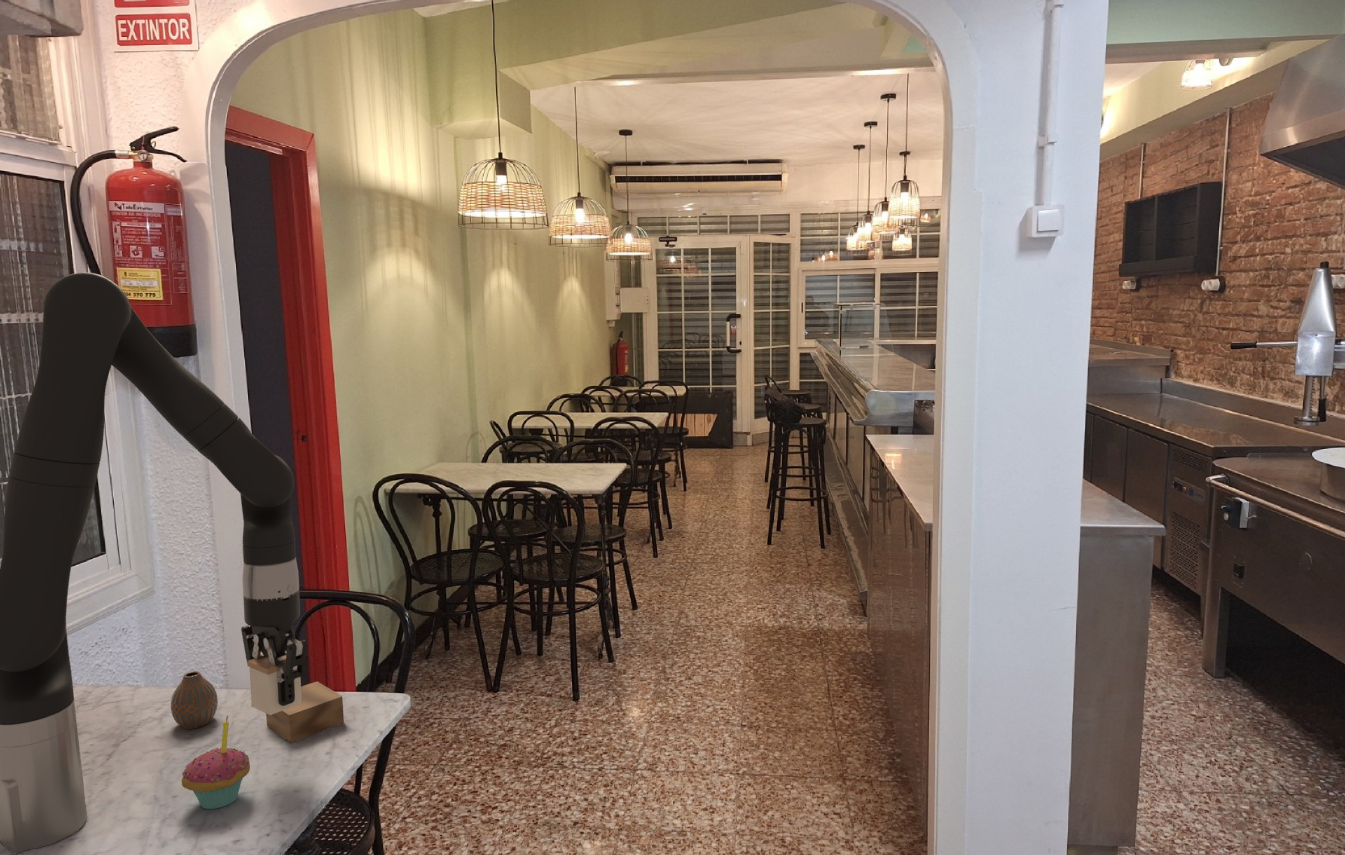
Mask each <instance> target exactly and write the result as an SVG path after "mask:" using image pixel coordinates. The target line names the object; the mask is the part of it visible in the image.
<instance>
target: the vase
mask: <svg viewBox="0 0 1345 855" xmlns="http://www.w3.org/2000/svg"><path fill="white" fill-rule="evenodd" d="M218 705H219V704H218V694H217V690H216V689H215V687H214V686H213V684H212V683H211V682H210V681H209V680H208V679H206V678H205V677H204V676H203V675H202V674H201V672H200V671H198V670H195V671H194V670H193V671H190V672H186V673H185V674H184V675H183V676H182V680H181V681H180V682H179V684H178V685H177V687H175V690H174V691H173V694H172V696H171V700H170V710H171V716H172V717H173V719H174V721H175V723H176V724H177V725H179V726H181V727H182V728H184V729H187V730H189V729H197V728H201V727H204V726H206V725H207V724H209V722H211V721H212V719H213V718H214V716H215V715H216V712H217V710H218Z"/></svg>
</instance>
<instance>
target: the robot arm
mask: <svg viewBox="0 0 1345 855" xmlns="http://www.w3.org/2000/svg"><path fill="white" fill-rule="evenodd" d="M42 319H43V320H42V332H41V333H42V334H41V335H42V336H41V346H40V355H39V364H38V365H39V366H38V370H37V375H36V380H35V383H34V386H33V389H32V392H31V394H30V397H29V400H28V403H27V406H26V409H25V411H24V414H23V419H22V421H21V425H20V429H19V432H18V436H17V440H16V444H15V447H14V451H13V454H12V458H11V459H12V460H11V465H10V469H9V475H8V479H7V487H6V494H5V502H4V504H5V505H4V516H3V544H2V545H3V546H2V555H1V561H0V843H1V844H2V845H3V846H4V847H5V848H6V849H7V850H8V851H10V852H11V853H12V854H14V855H16V854H19V853H20V852H23V851H26V850H32V849H39V848H41V847H45V846H49V845H52V844H54V843H57V842H60V841H62V840H64V839H65V838H67V837H69V836H71V835H73V834H75V832H77V831H79V830H80V829H81V828H82V827H83V826H84V825H85V823H86V822H87V820H88V811H87V800H86V795H85V794H86V792H85V786H84V785H85V784H84V776H83V765H82V759H81V748H80V739H79V731H78V721H77V714H76V713H77V710H76V704H75V703H76V702H75V695H74V682H73V676H72V667H71V666H72V665H71V660H70V653H69V652H70V651H69V644H68V643H69V642H68V633H67V607H68V594H69V586H70V578H71V577H70V576H71V570H72V567H73V566H72V565H73V561H74V556H75V554H76V551H77V548H78V544H79V541H80V539H81V536H82V534H83V530H84V527H85V523H86V520H87V518H88V513H89V511H90V507H91V504H92V499H93V495H94V491H95V488H96V483H97V478H98V473H99V469H100V464H101V459H102V453H103V446H104V445H103V444H104V434H105V414H106V413H105V412H106V411H105V410H106V409H105V407H106V406H105V403H106V402H105V400H106V388H107V382H108V378H109V375H110V372H111V368H112V366H113V367H114V369H116V370H117V371H118V372H120V374H121V375H123V376H124V377H125V378H126V379H127V380H128V381H129V382H131V384H132V385H133V386H134V387H135V388H136V389H137V390H138V391H139V392H140V393H141V394H142V395H143V396H144V397H145V398H146V399H147V401H148V402H149V403H150V404H151V405H152V406H153V407H154V408H155V409H156V411H157V412H158V413H159V414H160V415H161V416H162V417H163V419H165V421H166V422H167V423H168V424H169V425H170V426H171V427H172V428H173V429H174V430H175V431H176V432H177V433H178V434H179V435H181V436H182V437H183V438H184V439H185V441H187V442H188V443H189V444H190V446H192V447H193V448H194V449H195V450H197V452H198V453H200V454H201V455H202V456H203V457H205V458H206V459H207V460H209V461H210V462H211V463H212V464H213V465H214V466H215V467H216V468H217V469H218V470H219V473H221V474H222V475H223V476H224V478H226V480H227V481H228V482H229V483H230V485H232V486H233V488H235V489H236V491H238V492H239V493H240V501H241V502H240V503H241V511H242V513H241V514H242V518H243V519H242V520H243V529H242V530H243V531H242V557H243V558H242V559H243V566H242V568H243V569H242V595H243V597H242V598H243V614H244V615H243V616H244V617H243V618H244V619H243V621H244V623H245V624H246V625H244V626H242V627H241V628H240V630H241V636H242V641H243V642H242V643H243V648H244V653H245V654H244V655H245V659H246V662H247V661H249V660H252V659H256V660H258V659H261V658H265V657H268V656H269V660H270V664H271V666H272V667H276V668H277V679H278V681H279V682H278V701H279V705H281V706H285V705H288V704H290V703H293V702H294V700H295V691H294V690H295V689H294V680H295V679H296V678H299V677H301V678H302V677H304V675H305V670H306V669H305V668H306V661H307V660H306V658H307V651H308V642H307V640H305V639H302V640H298V639H296V635H295V631H294V628H293V624H295V623H294V622H295V621H296V620H298V619H299V617H300V615H301V603H300V582H299V581H300V578H299V577H300V576H299V569H298V568H299V567H298V563H297V556H296V555H297V554H296V552H297V551H296V532H295V527H294V524H293V521H292V504H291V503H292V502H291V501H292V500H291V498H292V494H293V491H294V488H295V487H294V486H295V478H294V474H293V472H292V470H291V468H290V466H289V465H288V463H287V462H286V461H285V460H284V458H281V457H280V456H278V455H277V454H274V453H273V452H272V451H271V450H270V449H269V448H268V447H267V446H265V444H263V443H262V442H261V440H259V439H258V438H256V437H255V435H254V434H253V433H252V432H251V430H250V428H249V427H248V426H247V425H246V423H245V422H244V421H243V420H242V419H241V418H240V417H239V416H238V415H237V414H236V412H234V410H232V409H231V407H229V406H228V405H227V404H226V403H225V402H224V401H223V399H221V398H220V397H219V396H218V395H217V394H216V393H215V392H214V391H212V389H210V388H209V387H208V386H207V385H206V384H205V383H203V382H202V381H201V380H200V379H199V378H197V377H196V376H195V375H194V374H193V373H192V372H191V371H190V370H188V368H186V367H185V366H183V364H181V362H179V361H178V360H177V359H176V358H175V357H174V356H173V355H172V354H171V353H170V352H169V350H167V349H166V348H165V347H164V346H163V345H162V344H161V343H160V342H159V341H158V339H156V337H155V336H154V335H153V334H152V333H151V332H150V330H149V329H148V328H147V326H146V325H145V324H144V322H143V321H142V319H141V318H140V317H139V316H138V314H137V313H136V311H135V310H134V308H133V307H132V305H131V302H130V300H129V298H128V297H127V294H126V293H125V292H124V290H123V289H122V288H120V286H119V285H118V284H116V283H115V282H114V281H112V280H110V279H109V278H107V277H105V276H103V275H101V274H99V273H98V274H97V273H94V272H74V273H72V274H71V273H70V274H68V275H66V276H64V277H61V278H60V279H58V280H57V281H55V283H54V284H52V285H51V287H50V288H49V289H48V291H47V293H46V295H45V298H44V300H43V317H42ZM285 655H286V659H283V660H278V659H277V658H279V657H282V656H285ZM284 664H285V673H284V672H283V668H282V666H283V665H284ZM296 666H297V669H296Z"/></svg>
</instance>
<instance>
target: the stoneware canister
mask: <svg viewBox="0 0 1345 855" xmlns="http://www.w3.org/2000/svg"><path fill="white" fill-rule="evenodd" d="M277 659H278V660H283V659H286V655H285V656H282V657H279V658H277ZM246 663H247V667H248V668H249V680H250V701H251V703H250V704H251V707H252V708H253V709H256V710H258V711H261V712H262V713H264V714H266V713H267V714H269V715H272V714H275V713H277V712H280V711H283V710H285V709H288V708H290V707H293V706H296V705H298V704H301V703H302V701H301V687H302V683H301V681H302V680H301V678H302V677H299V678H296V679H295V680H294V689H295V690H294V691H295V700H294V702H293V703H290V704H288V705H285V706H281V705H279V701H278V682H279V681H278V679H277V668H276V667H272V666H271V664H270V660H269V656H268V657H265V658H261V659H258V660H256V659H252V660H249V661H247V660H246ZM282 668H283V672H284V673H285V664H284V665H283V666H282ZM296 669H297V666H296Z"/></svg>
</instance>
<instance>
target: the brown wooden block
mask: <svg viewBox="0 0 1345 855" xmlns="http://www.w3.org/2000/svg"><path fill="white" fill-rule="evenodd" d="M343 700H344V699H343V695H341V694H339V693H338V692H336V691H334V690H332V689H331V688H329V687H328V686H325V684H323V683H321V682H319V681H314V682H312V683H308V684H305V685H301V701H302V703H301V704H298V705H296V706H293V707H290V708H288V709H285V710H283V711H280V712H277V713H275V714H272V715H269V714H267V713H265V716H266V726H267V727H269V729H271V731H274V732H276V733H277V734H278V735H279V736H281V737H282V738H283V739H285V740H287V742H289V743H290V744H292V743H294V742H297V741H300V740H303V739H305V738H308V737H311V736H313V735H316V734H319V733H321V732H324V731H326V730H329V729H332V728H333V727H337V726H339V725H342V724H344V723H345V719H344V704H343Z"/></svg>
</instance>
